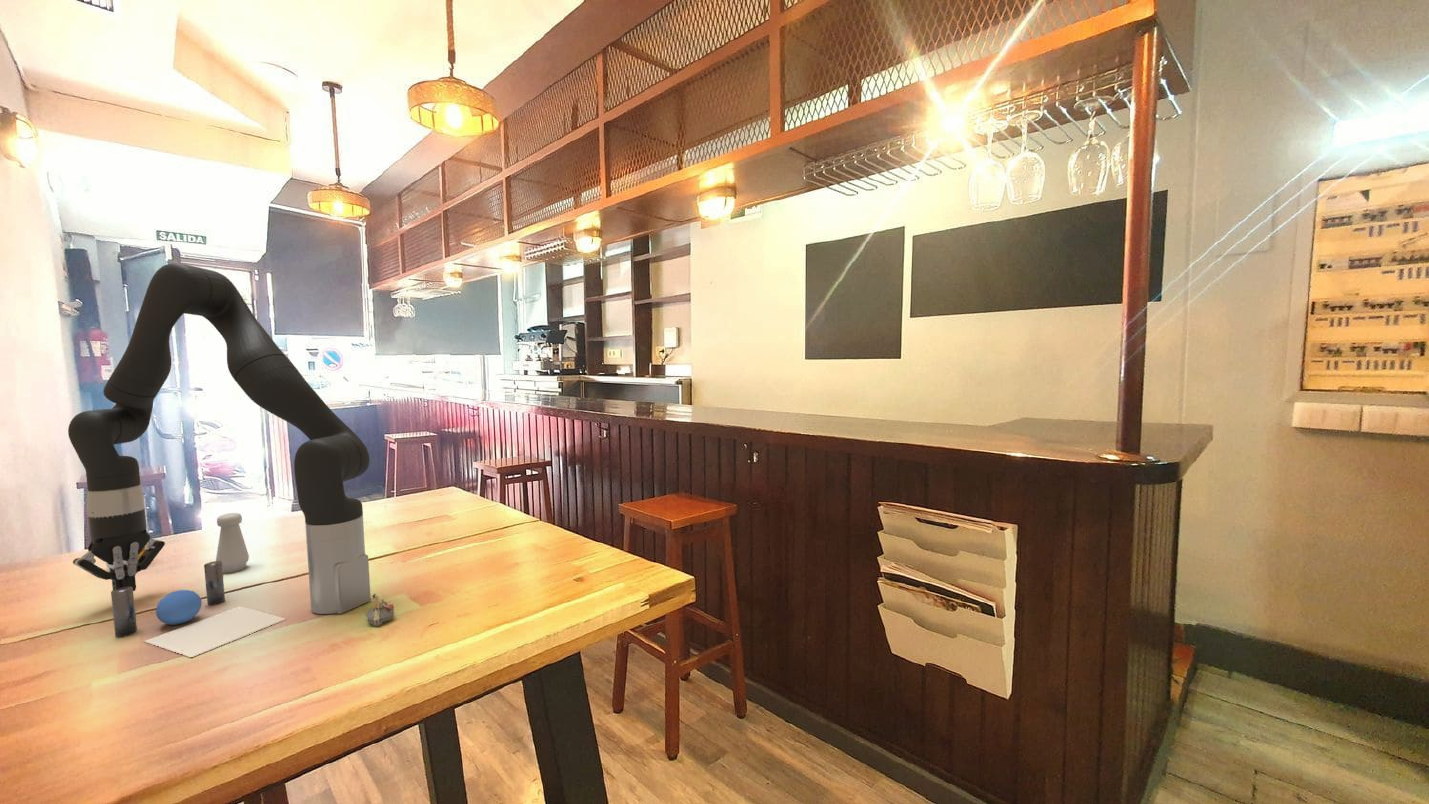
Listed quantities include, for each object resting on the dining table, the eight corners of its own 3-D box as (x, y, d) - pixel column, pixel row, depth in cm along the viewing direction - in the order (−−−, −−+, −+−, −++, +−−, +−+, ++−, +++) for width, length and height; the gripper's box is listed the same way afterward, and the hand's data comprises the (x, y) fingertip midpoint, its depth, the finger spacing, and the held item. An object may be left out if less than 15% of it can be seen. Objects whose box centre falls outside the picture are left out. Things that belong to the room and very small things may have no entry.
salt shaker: (219, 576, 121) (214, 519, 120) (213, 570, 125) (208, 515, 124) (253, 568, 126) (248, 513, 125) (246, 563, 130) (241, 509, 128)
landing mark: (286, 619, 101) (285, 618, 101) (191, 658, 88) (190, 657, 88) (240, 607, 106) (240, 606, 106) (144, 642, 93) (144, 641, 93)
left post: (140, 631, 97) (135, 587, 97) (119, 638, 95) (115, 593, 94) (132, 628, 98) (128, 585, 98) (112, 635, 96) (107, 591, 95)
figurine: (370, 615, 102) (368, 586, 101) (397, 612, 104) (395, 583, 103) (363, 632, 98) (361, 602, 96) (391, 629, 99) (390, 599, 98)
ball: (194, 614, 104) (211, 616, 102) (152, 629, 99) (169, 632, 96) (188, 583, 104) (205, 585, 101) (145, 597, 98) (163, 599, 96)
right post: (228, 600, 109) (224, 561, 109) (212, 606, 107) (208, 566, 106) (220, 598, 110) (217, 560, 110) (204, 604, 108) (201, 564, 107)
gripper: (77, 521, 100) (87, 613, 101) (171, 503, 112) (178, 585, 113) (57, 517, 103) (67, 606, 104) (151, 500, 115) (158, 579, 116)
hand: (125, 595), depth 109 cm, fingers closed
